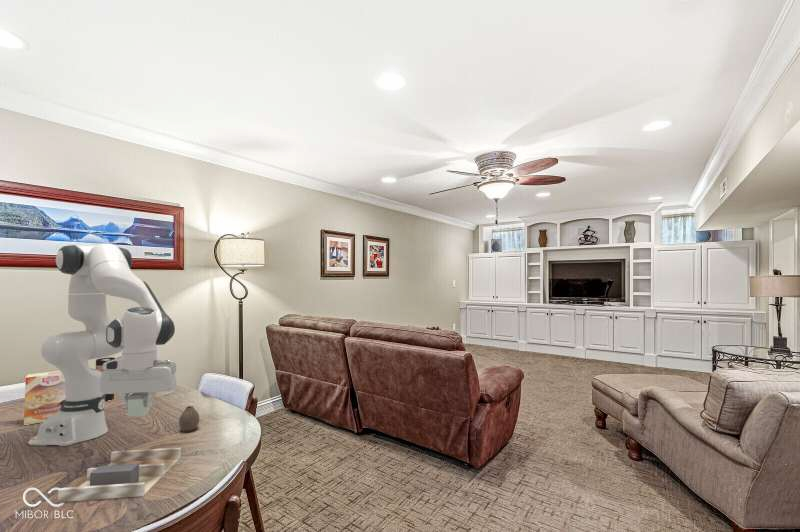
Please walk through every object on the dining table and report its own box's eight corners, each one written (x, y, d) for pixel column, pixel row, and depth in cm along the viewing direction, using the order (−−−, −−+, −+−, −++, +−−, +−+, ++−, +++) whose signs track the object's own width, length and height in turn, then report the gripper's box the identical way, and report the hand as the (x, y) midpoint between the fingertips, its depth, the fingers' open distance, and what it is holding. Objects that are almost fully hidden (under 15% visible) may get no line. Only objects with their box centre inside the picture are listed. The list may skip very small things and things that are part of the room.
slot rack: (57, 506, 95) (58, 490, 95) (112, 464, 117) (113, 451, 117) (142, 499, 97) (142, 484, 98) (180, 460, 119) (180, 447, 119)
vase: (190, 434, 140) (190, 410, 140) (174, 432, 141) (174, 409, 142) (203, 427, 147) (203, 404, 147) (188, 426, 148) (188, 403, 148)
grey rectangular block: (127, 416, 111) (127, 396, 111) (135, 412, 115) (135, 392, 115) (141, 415, 111) (142, 395, 112) (149, 411, 115) (149, 391, 116)
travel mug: (101, 398, 185) (102, 357, 185) (118, 397, 185) (119, 357, 186) (90, 403, 177) (91, 360, 178) (107, 402, 178) (108, 360, 179)
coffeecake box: (23, 426, 148) (25, 377, 149) (24, 421, 153) (26, 374, 154) (73, 417, 158) (74, 371, 159) (73, 413, 163) (74, 368, 164)
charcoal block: (89, 492, 99) (90, 473, 99) (99, 484, 103) (100, 466, 103) (130, 489, 101) (130, 470, 101) (138, 481, 105) (139, 463, 105)
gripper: (180, 357, 118) (179, 401, 118) (110, 360, 116) (109, 405, 115) (171, 361, 112) (170, 408, 111) (96, 364, 109) (95, 412, 109)
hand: (138, 406), depth 113 cm, fingers closed on grey rectangular block, 4 cm apart
